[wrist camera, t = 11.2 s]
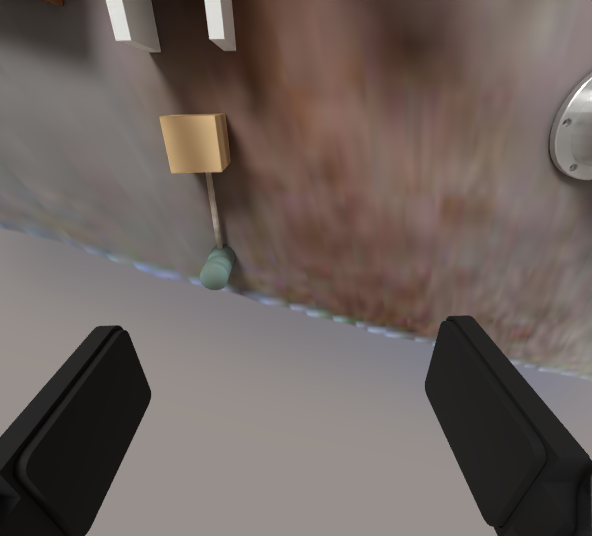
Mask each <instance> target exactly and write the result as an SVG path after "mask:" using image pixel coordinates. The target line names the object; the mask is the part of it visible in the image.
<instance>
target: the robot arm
mask: <svg viewBox="0 0 592 536" xmlns="http://www.w3.org/2000/svg"><path fill="white" fill-rule="evenodd" d="M549 148H550V154H551V158H552V160H553V162H554V165H555V166H556V167H557V168H558V169H559V171H561V172H562V173H564V174H565V175H567V176H570V177H573V178H576V179H581V180H592V72H591V73H590V74H589V75H587V76H586V77H585V78H584V79H583V80H582V81H581V82H580V83H579V84H578V85H577V86H576V87H575V88H574V89H573V90H572V92H571V93H570V94H569V96H568V97H567V98H566V100H565V101H564V103H563V105H562V106H561V108H560V110H559V112H558V113H557V116H556V118H555V121H554V123H553V126H552V130H551V135H550V147H549ZM425 391H426V394H427V397H428V399H429V401H430V403H431V405H432V407H433V410H434V412H435V414H436V416H437V418H438V421H439V423H440V425H441V427H442V429H443V432H444V434H445V436H446V438H447V440H448V442H449V445H450V447H451V449H452V451H453V453H454V455H455V458H456V460H457V462H458V464H459V466H460V469H461V471H462V473H463V475H464V477H465V479H466V482H467V484H468V486H469V488H470V490H471V492H472V495H473V497H474V499H475V501H476V503H477V505H478V508H479V510H480V512H481V514H482V516H483V518H484V520H485V521H486V523H487V524H488V525H489V526H493V527H494V529H495V531H496V533H497V535H498V536H592V460H591V459H590V458H589V455H588V454H587V453H586V452H585V451H584V449H583V448H582V447H581V446H580V445H579V443H578V442H577V441H576V440H575V439H574V438H573V436H572V435H571V434H570V433H569V431H568V430H567V429H566V428H565V427H564V425H563V424H562V423H561V422H560V421H559V420H558V418H557V417H556V416H555V415H554V414H553V412H552V411H551V410H550V409H549V408H548V406H547V405H546V404H545V403H544V402H543V400H542V399H541V398H540V397H539V396H538V395H537V393H536V392H535V391H534V390H533V388H532V387H531V386H530V385H529V384H528V383H527V381H526V380H525V379H524V378H523V377H522V375H521V374H520V373H519V372H518V371H517V369H516V368H515V367H514V366H513V365H512V363H511V362H510V361H509V360H508V359H507V357H506V356H505V355H504V354H503V353H502V352H501V350H500V349H499V348H498V347H497V346H496V344H495V343H494V342H493V341H492V340H491V338H490V337H489V336H488V335H487V334H486V332H485V331H484V330H483V329H482V328H481V326H480V325H479V324H478V323H477V322H476V321H475V319H474V318H473V317H472V316H449V317H448V318H447V319H446V321H443V322H442V323H441V325H440V328H439V332H438V336H437V340H436V343H435V347H434V351H433V355H432V359H431V362H430V366H429V370H428V373H427V377H426V381H425ZM150 399H151V390H150V387H149V385H148V382H147V379H146V377H145V375H144V372H143V369H142V367H141V364H140V361H139V359H138V356H137V354H136V351H135V348H134V346H133V343H132V341H131V338H130V336H129V333H128V332H127V331H126V330H123V328H122V327H121V326H98V327H96V328H95V329H94V330H93V331H92V332H91V333H90V334H89V335H88V337H87V338H86V339H85V340H84V341H83V342H82V344H81V345H80V346H79V347H78V348H77V349H76V350H75V352H74V353H73V354H72V355H71V356H70V357H69V358H68V360H67V361H66V362H65V363H64V364H63V365H62V367H61V368H60V369H59V370H58V371H57V372H56V374H55V375H54V376H53V377H52V378H51V379H50V380H49V381H48V383H47V384H46V385H45V386H44V387H43V388H42V390H41V391H40V392H39V393H38V394H37V395H36V397H35V398H34V399H33V400H32V401H31V402H30V403H29V405H28V406H27V407H26V408H25V409H24V410H23V412H22V413H21V414H20V415H19V416H18V417H17V419H16V420H15V421H14V422H13V423H12V424H11V425H10V426H9V428H8V429H7V430H6V431H5V432H4V434H3V435H2V436H1V437H0V536H85V535H86V534H87V532H88V531H89V529H90V528H91V526H92V524H93V522H94V519H95V517H96V515H97V513H98V511H99V509H100V507H101V505H102V502H103V500H104V498H105V496H106V494H107V492H108V490H109V488H110V485H111V483H112V481H113V479H114V477H115V475H116V473H117V471H118V469H119V466H120V464H121V462H122V460H123V458H124V455H125V453H126V452H127V449H128V447H129V445H130V443H131V441H132V439H133V437H134V435H135V433H136V430H137V428H138V426H139V424H140V422H141V420H142V418H143V416H144V413H145V411H146V409H147V407H148V405H149V403H150Z"/></svg>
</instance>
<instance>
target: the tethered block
mask: <svg viewBox="0 0 592 536" xmlns="http://www.w3.org/2000/svg"><path fill="white" fill-rule="evenodd" d="M160 122H161V127H162V131H163V136H164V141H165V146H166V150H167V155H168V160H169V164H170V169H171V173H200V172H205V175H206V182H207V188H208V194H209V200H210V207H211V213H212V219H213V226H214V232H215V238H216V244H217V246H216V247H214V248H213V250H212V252H211V254H210V256H209V258H208V260H207V262H206V264H205V266H204V268H203V270H202V272H201V274H200V281H201V283H202V284H203V285H204V286H205V287H206V288H208V289H211V290H220V289H222V288H224V287H225V286H226V284H227V281H228V278H229V275H230V272H231V269H232V266H233V263H234V260H235V253H234V251H233V250H232V249H231V248H230V247H228V246H226V245H222V240H221V233H220V226H219V220H218V213H217V206H216V200H215V193H214V186H213V180H212V173H211V172H222V171H223V170H224V169H225V168H226V167H227V166H228V165H229V164H230V163H231V158H230V150H229V141H228V133H227V124H226V116H225V114H181V115H170V116H162V117H160Z"/></svg>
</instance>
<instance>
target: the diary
mask: <svg viewBox="0 0 592 536" xmlns="http://www.w3.org/2000/svg"><path fill="white" fill-rule="evenodd" d="M43 1H46V2H49V3H53V4H56V5H59V6H63V0H43Z"/></svg>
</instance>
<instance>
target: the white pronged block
mask: <svg viewBox="0 0 592 536" xmlns="http://www.w3.org/2000/svg"><path fill="white" fill-rule="evenodd" d="M204 1H205V8H206V16H207V24H208V32H209V39H210V40H211V41H212V42H214V43H215V44H216V45H217V46H219V47H220V48H221V49H222V50H223V51H236V41H235V30H234V19H233V9H232V0H204ZM106 2H107V6H108V10H109V14H110V18H111V22H112V26H113V30H114V35H115V39H116V41H118V42H121V43H124V44H127V45H130V46H132V47H135V48H138V49H141V50H144V51H146V52H161V49H160V44H159V38H158V33H157V28H156V23H155V18H154V12H153V7H152V2H151V0H106Z"/></svg>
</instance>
